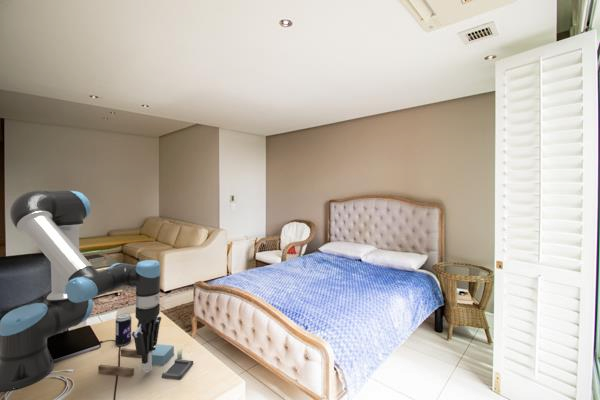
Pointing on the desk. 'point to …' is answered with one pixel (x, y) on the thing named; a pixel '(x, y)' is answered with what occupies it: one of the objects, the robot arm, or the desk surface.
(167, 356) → the block
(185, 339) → the desk surface
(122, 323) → the beverage can
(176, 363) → the tray
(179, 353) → the goal posts
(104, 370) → the parallel brown rails
